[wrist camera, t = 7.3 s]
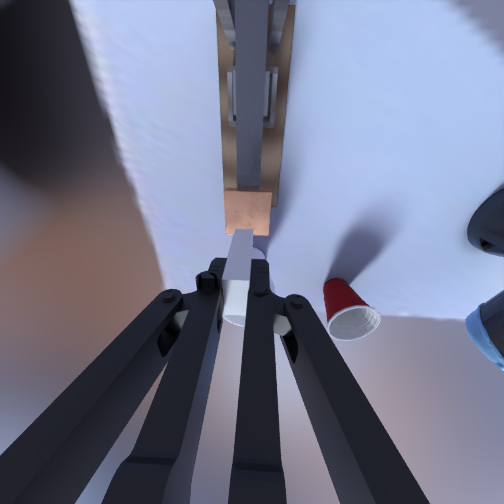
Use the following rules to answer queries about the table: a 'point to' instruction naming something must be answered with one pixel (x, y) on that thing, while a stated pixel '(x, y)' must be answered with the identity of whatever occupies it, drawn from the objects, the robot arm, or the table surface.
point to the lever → (249, 120)
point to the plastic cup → (347, 312)
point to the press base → (280, 108)
